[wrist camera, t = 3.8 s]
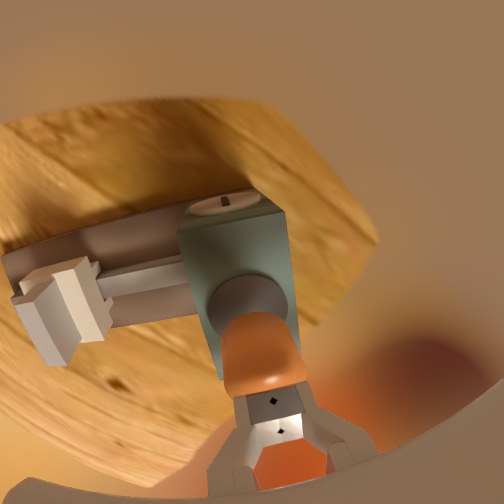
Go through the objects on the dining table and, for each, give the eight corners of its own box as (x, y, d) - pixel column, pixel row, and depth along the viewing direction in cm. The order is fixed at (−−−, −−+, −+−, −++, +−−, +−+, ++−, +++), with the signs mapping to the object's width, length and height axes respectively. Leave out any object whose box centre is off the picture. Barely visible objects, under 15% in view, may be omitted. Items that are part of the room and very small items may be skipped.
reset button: (213, 320, 13) (215, 360, 11) (286, 304, 14) (304, 341, 11) (228, 372, 15) (233, 413, 12) (292, 358, 15) (308, 396, 12)
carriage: (42, 263, 23) (-4, 303, 15) (94, 249, 24) (51, 291, 16) (66, 320, 26) (33, 371, 18) (117, 312, 26) (91, 369, 18)
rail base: (5, 248, 24) (-56, 291, 13) (253, 181, 26) (285, 203, 15) (40, 330, 28) (-1, 391, 17) (270, 291, 30) (303, 365, 19)
